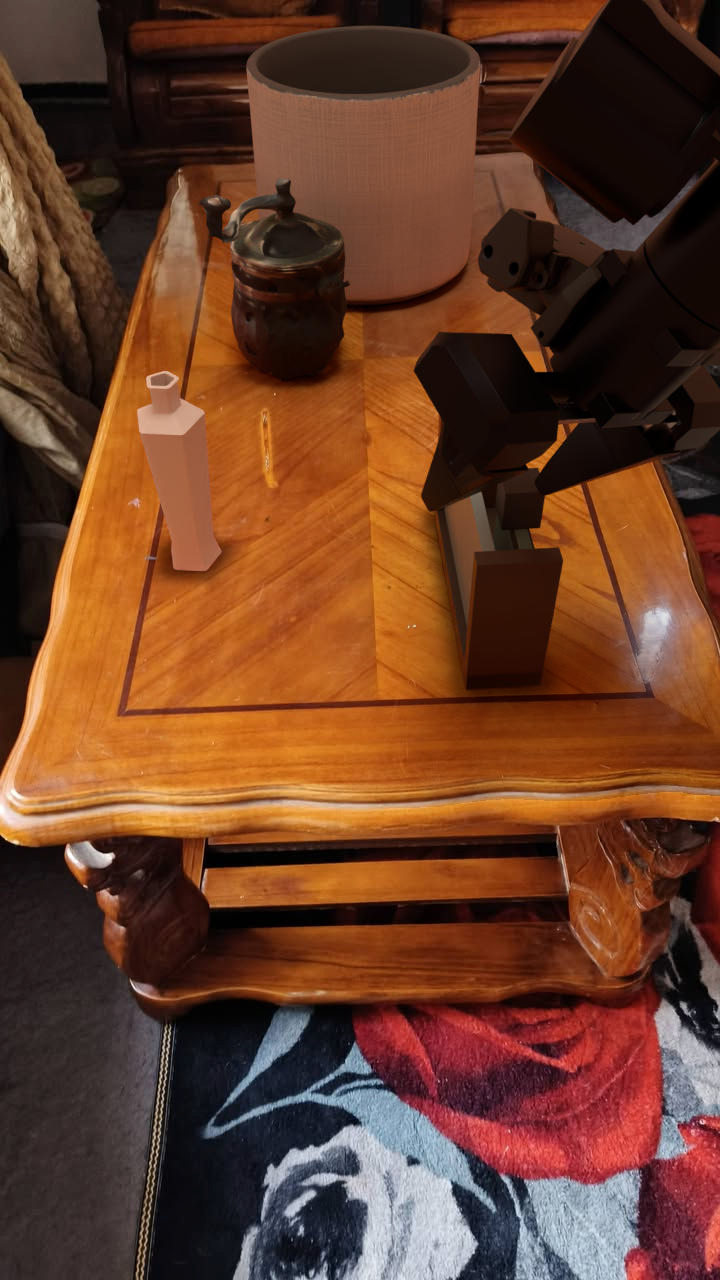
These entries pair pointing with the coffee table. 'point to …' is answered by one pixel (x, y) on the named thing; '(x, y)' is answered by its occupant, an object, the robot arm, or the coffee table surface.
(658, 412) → the robot arm
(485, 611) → the window frame
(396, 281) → the planter
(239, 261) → the coffee grinder
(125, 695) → the coffee table surface
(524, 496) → the pane
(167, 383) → the perfume bottle
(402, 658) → the coffee table surface
